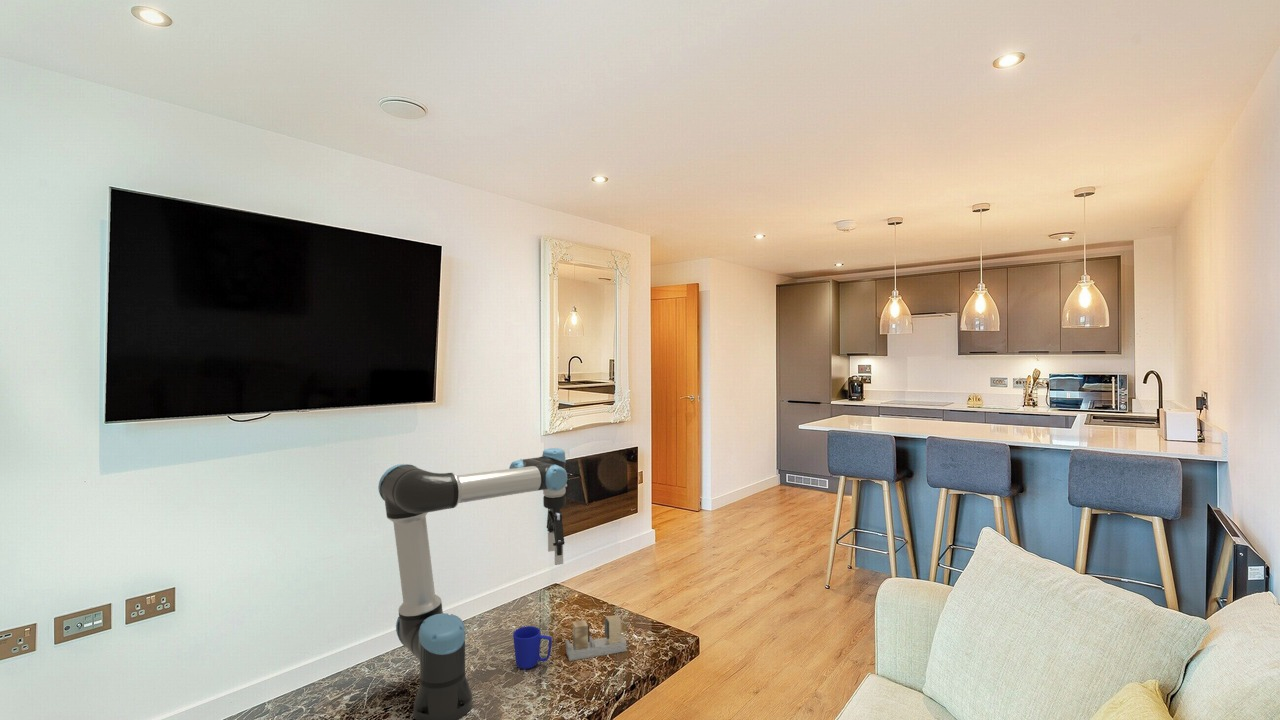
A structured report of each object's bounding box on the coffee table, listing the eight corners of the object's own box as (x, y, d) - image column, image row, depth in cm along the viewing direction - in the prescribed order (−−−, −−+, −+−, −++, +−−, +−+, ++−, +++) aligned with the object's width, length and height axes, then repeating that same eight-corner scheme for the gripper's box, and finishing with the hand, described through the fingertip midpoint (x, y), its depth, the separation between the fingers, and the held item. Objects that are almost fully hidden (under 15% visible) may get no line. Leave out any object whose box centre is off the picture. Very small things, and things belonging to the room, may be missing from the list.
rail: (568, 661, 181) (568, 629, 181) (565, 653, 186) (565, 622, 186) (626, 651, 187) (626, 620, 187) (622, 643, 192) (621, 613, 192)
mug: (546, 674, 174) (546, 641, 174) (509, 670, 177) (508, 637, 176) (556, 659, 182) (555, 628, 182) (520, 656, 185) (519, 625, 185)
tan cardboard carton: (575, 649, 182) (575, 627, 182) (572, 643, 186) (572, 621, 186) (589, 647, 184) (589, 625, 184) (587, 641, 188) (586, 619, 188)
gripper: (572, 502, 186) (573, 568, 187) (559, 485, 210) (559, 544, 210) (549, 504, 184) (550, 571, 184) (538, 487, 208) (538, 547, 208)
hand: (555, 557), depth 197 cm, fingers open, 13 cm apart
